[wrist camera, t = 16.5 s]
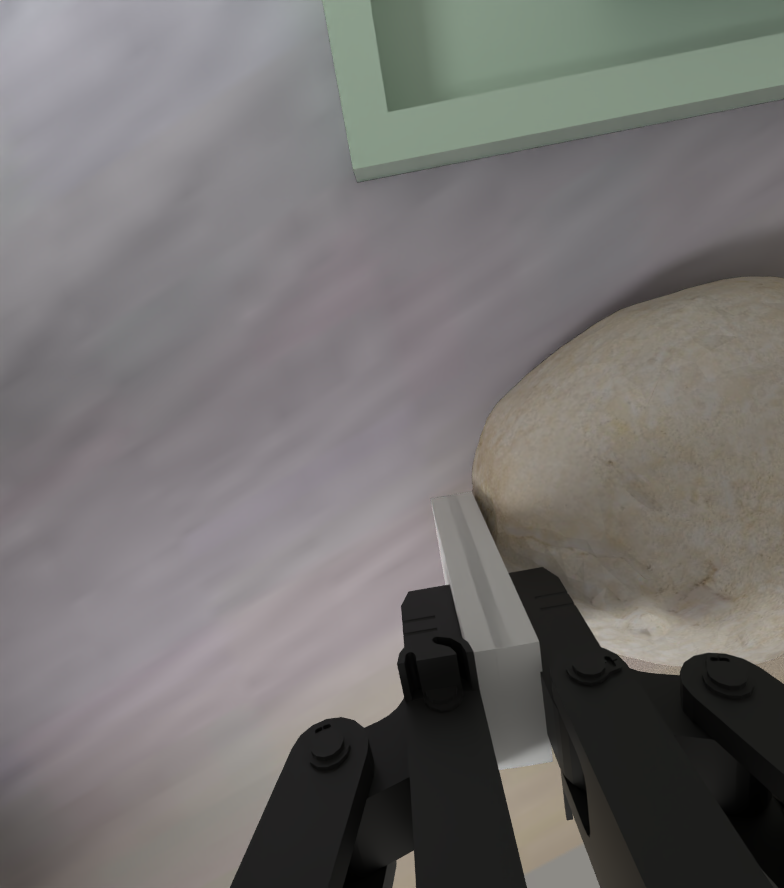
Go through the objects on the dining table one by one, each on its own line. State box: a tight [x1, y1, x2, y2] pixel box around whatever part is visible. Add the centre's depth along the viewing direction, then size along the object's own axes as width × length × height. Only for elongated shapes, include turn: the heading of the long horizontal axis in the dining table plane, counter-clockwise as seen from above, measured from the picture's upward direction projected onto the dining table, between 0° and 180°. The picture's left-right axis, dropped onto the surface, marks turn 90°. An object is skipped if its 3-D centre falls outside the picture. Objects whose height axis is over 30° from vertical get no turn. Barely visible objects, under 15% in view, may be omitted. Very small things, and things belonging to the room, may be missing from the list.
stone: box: [472, 277, 784, 666], centre depth 15 cm, size 13×10×8 cm
